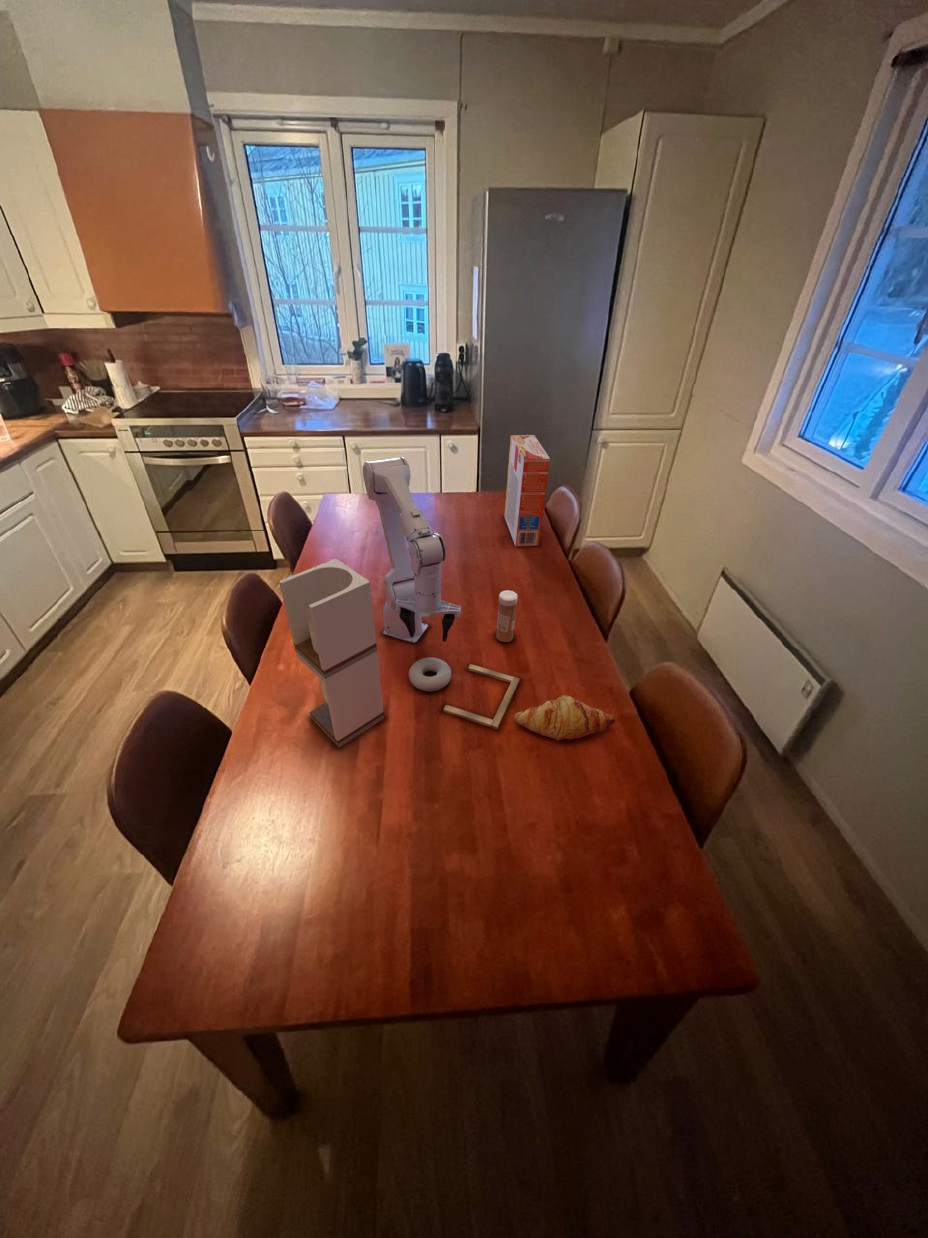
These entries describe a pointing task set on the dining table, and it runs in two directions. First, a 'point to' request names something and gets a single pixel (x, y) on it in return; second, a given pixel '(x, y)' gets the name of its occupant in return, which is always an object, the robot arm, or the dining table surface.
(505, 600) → the sprinkles bottle
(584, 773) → the dining table surface
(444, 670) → the donut
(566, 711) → the croissant
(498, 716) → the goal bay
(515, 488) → the cereal box
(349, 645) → the grey pedestal stand
